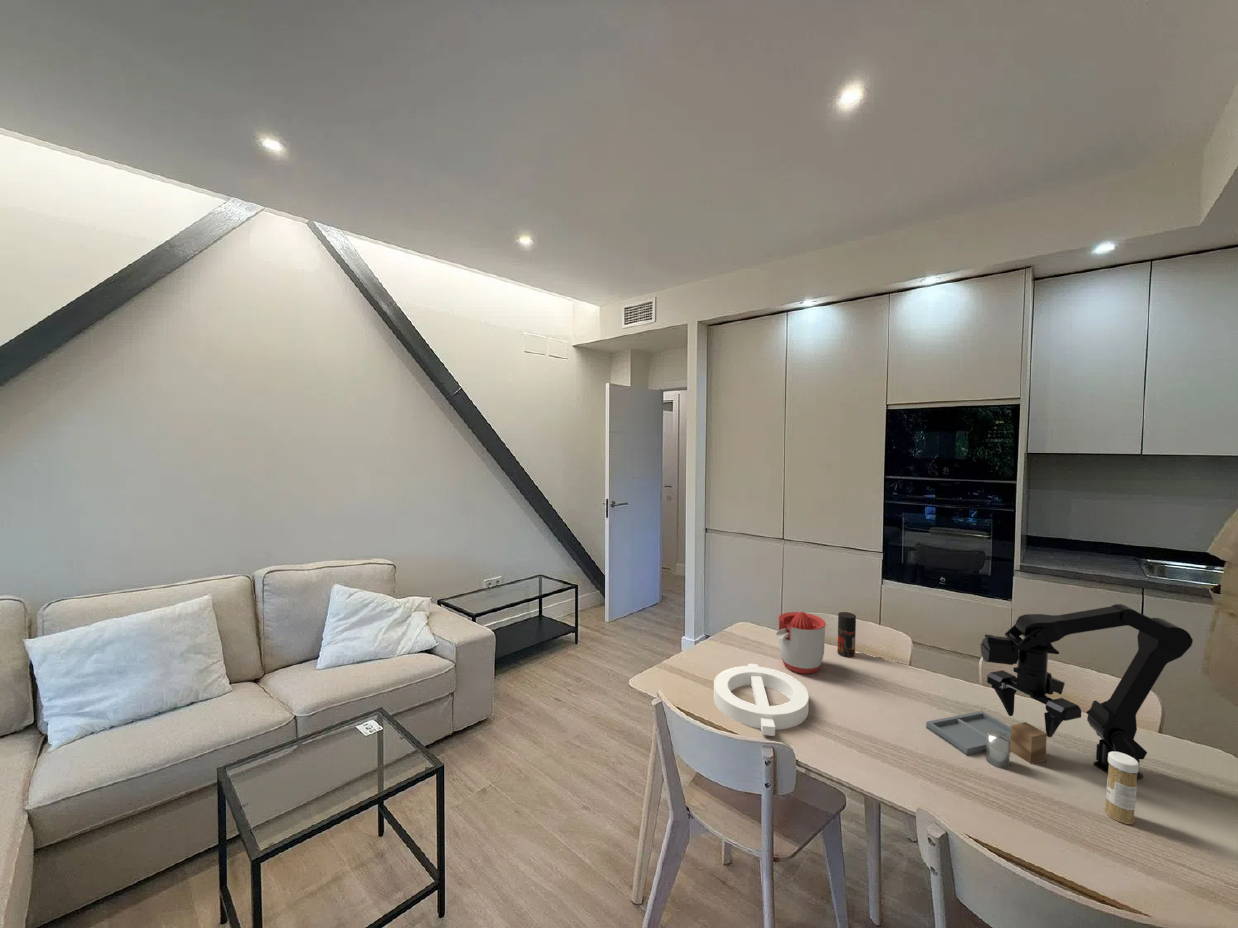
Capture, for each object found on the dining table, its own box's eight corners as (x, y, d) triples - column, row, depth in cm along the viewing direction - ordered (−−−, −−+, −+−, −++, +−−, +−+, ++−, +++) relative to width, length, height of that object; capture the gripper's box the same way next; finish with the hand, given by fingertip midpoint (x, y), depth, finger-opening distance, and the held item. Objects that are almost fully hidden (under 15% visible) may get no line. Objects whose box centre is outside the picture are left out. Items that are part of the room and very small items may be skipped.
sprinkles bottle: (1104, 805, 107) (1107, 747, 106) (1134, 816, 104) (1138, 756, 103) (1105, 817, 104) (1108, 757, 103) (1136, 829, 100) (1140, 767, 100)
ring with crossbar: (769, 743, 130) (769, 726, 129) (695, 697, 152) (695, 683, 152) (827, 707, 146) (827, 692, 146) (752, 671, 169) (752, 658, 168)
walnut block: (1045, 760, 122) (1046, 733, 121) (1030, 763, 120) (1031, 736, 120) (1024, 747, 127) (1025, 722, 126) (1009, 750, 125) (1011, 725, 125)
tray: (1025, 742, 129) (1025, 735, 128) (966, 755, 124) (966, 748, 124) (981, 716, 140) (981, 710, 140) (926, 727, 135) (926, 721, 135)
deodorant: (839, 648, 184) (840, 610, 183) (856, 653, 181) (857, 614, 180) (835, 654, 180) (836, 615, 179) (852, 659, 176) (853, 619, 175)
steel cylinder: (1013, 766, 119) (1015, 739, 119) (999, 770, 118) (1000, 742, 118) (995, 754, 124) (996, 728, 123) (981, 757, 123) (982, 731, 122)
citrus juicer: (764, 660, 176) (765, 607, 174) (804, 653, 181) (805, 601, 179) (792, 681, 161) (793, 623, 159) (835, 673, 166) (836, 616, 165)
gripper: (1099, 680, 115) (1096, 743, 116) (1017, 647, 133) (1015, 701, 134) (1065, 687, 112) (1062, 751, 113) (986, 652, 130) (984, 707, 131)
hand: (1029, 725), depth 123 cm, fingers open, 9 cm apart
